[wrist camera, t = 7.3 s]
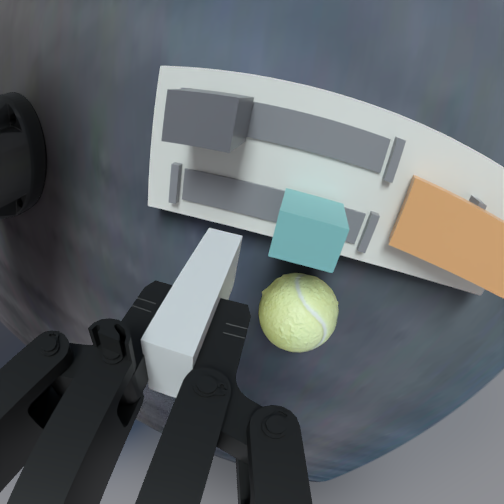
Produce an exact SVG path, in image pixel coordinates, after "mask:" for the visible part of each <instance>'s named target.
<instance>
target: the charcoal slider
mask: <svg viewBox="0 0 504 504" xmlns="http://www.w3.org/2000/svg"><path fill="white" fill-rule="evenodd" d="M253 101H254V97H250V96H244V95H238V94H231V93H225V92H217V91H210V90H201V89H167V97H166V104H165V112H164V121H163V130H162V140H161V141H164V142H170V143H177V144H183V145H189V146H194V147H200V148H206V149H211V150H216V151H221V152H226V153H230V152H232V151H233V150H234V149H236V148H237V147H239V146H240V145H241V144H243V143H244V142H245V141H246V137H247V132H248V127H249V121H250V116H251V111H252V106H253Z"/></svg>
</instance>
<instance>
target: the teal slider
mask: <svg viewBox="0 0 504 504" xmlns="http://www.w3.org/2000/svg"><path fill="white" fill-rule="evenodd" d="M348 232H349V225H348V221H347V217H346V213H345V208H344V204H342V203H339V202H335V201H332V200H328V199H325V198H321V197H318V196H314V195H311V194H307V193H303V192H299V191H296V190H292V189H288V188H286V190H285V193H284V197H283V200H282V204H281V207H280V211H279V215H278V219H277V223H276V227H275V231H274V235H273V238H272V242H271V246H270V250H269V254H268V256H269V257H273V258H277V259H281V260H285V261H288V262H292V263H296V264H300V265H304V266H307V267H311V268H315V269H319V270H323V271H326V272H330V273H333V271H334V269H335V266H336V264H337V261H338V258H339V256H340V253H341V251H342V248H343V246H344V243H345V240H346V238H347V235H348Z"/></svg>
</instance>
